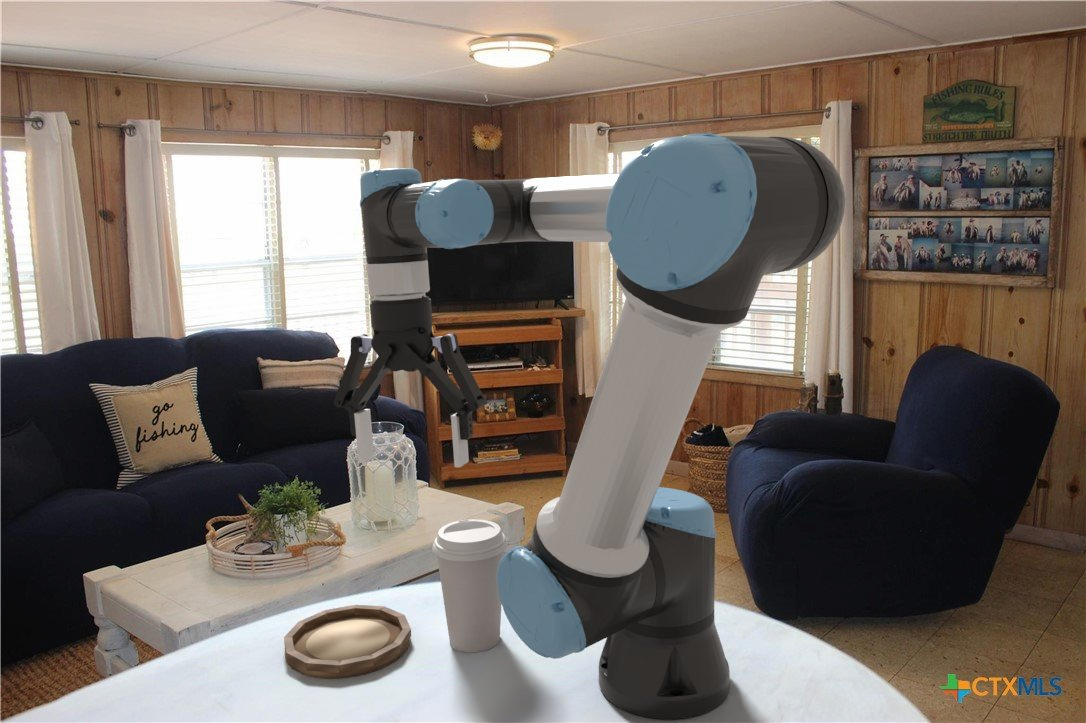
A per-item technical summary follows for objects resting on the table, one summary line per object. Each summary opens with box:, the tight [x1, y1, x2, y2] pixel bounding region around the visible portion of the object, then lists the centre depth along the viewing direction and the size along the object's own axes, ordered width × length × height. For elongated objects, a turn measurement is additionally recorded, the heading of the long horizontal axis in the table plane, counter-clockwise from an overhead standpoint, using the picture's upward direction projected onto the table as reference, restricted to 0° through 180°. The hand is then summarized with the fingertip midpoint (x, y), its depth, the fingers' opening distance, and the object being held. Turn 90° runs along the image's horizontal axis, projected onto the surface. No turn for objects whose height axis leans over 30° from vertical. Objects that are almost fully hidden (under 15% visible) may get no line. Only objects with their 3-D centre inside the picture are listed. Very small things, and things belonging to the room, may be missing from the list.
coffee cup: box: [432, 518, 509, 653], centre depth 115 cm, size 10×10×15 cm
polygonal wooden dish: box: [283, 604, 412, 680], centre depth 116 cm, size 16×16×2 cm
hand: (413, 462), depth 115 cm, fingers open, 13 cm apart
